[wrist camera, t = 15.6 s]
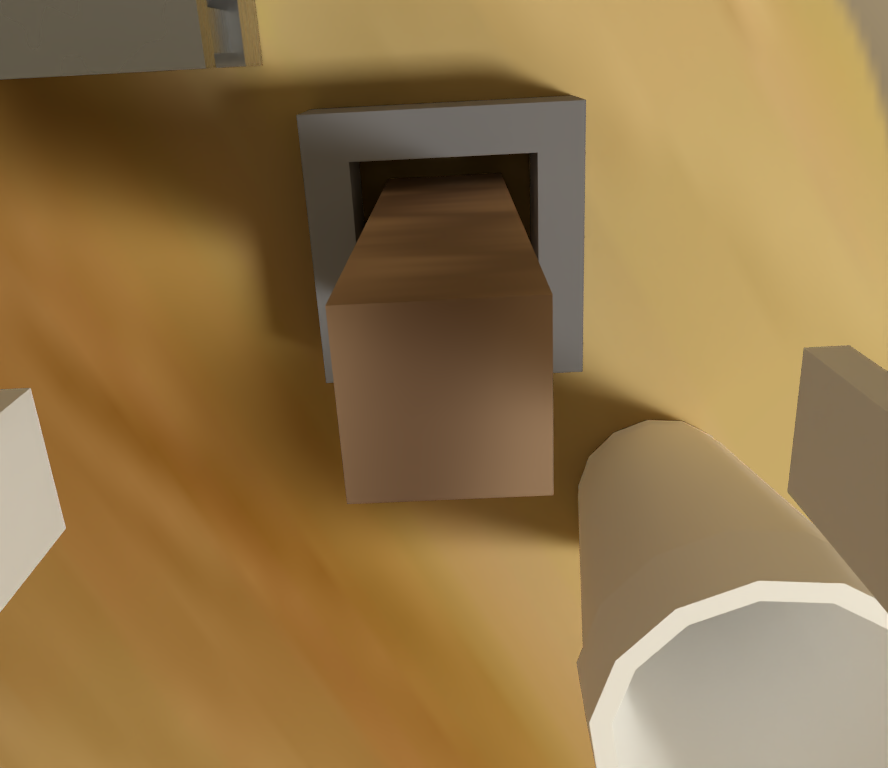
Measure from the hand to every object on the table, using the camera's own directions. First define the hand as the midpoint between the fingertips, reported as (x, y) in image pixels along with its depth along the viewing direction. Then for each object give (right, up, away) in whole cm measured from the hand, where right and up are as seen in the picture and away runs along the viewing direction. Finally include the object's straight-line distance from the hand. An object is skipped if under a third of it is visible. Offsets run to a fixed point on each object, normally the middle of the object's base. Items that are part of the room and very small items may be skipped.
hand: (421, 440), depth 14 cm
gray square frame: (+1, +6, +16) cm, 17 cm away
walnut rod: (+1, +6, +16) cm, 17 cm away
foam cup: (+9, -3, +20) cm, 22 cm away
